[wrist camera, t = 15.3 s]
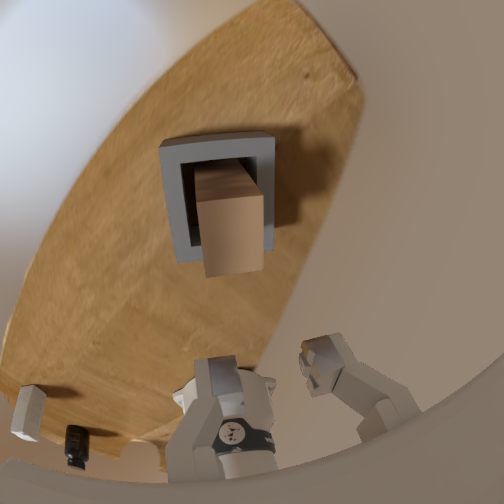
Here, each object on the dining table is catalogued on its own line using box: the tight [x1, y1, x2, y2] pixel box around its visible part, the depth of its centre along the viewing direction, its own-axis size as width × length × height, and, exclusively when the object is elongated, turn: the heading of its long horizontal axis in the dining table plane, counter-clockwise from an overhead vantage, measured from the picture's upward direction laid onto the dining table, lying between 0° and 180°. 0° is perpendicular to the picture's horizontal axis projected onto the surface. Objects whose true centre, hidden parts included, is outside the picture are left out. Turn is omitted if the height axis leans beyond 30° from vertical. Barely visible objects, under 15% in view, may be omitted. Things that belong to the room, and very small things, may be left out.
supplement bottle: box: [64, 425, 90, 471], centre depth 44 cm, size 7×7×12 cm
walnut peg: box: [194, 159, 264, 278], centre depth 22 cm, size 4×6×10 cm
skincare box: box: [11, 385, 47, 441], centre depth 32 cm, size 6×4×12 cm
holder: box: [159, 131, 275, 263], centre depth 24 cm, size 10×9×4 cm
